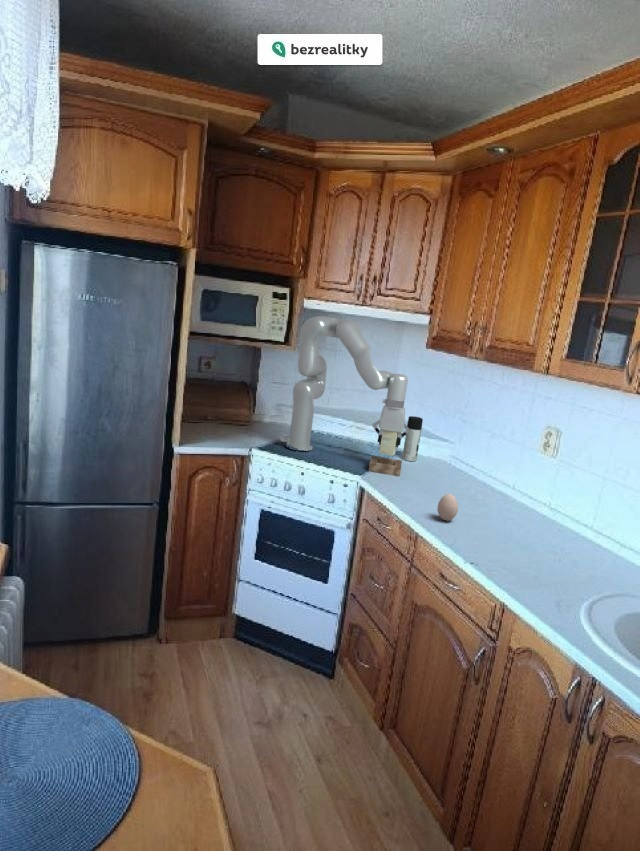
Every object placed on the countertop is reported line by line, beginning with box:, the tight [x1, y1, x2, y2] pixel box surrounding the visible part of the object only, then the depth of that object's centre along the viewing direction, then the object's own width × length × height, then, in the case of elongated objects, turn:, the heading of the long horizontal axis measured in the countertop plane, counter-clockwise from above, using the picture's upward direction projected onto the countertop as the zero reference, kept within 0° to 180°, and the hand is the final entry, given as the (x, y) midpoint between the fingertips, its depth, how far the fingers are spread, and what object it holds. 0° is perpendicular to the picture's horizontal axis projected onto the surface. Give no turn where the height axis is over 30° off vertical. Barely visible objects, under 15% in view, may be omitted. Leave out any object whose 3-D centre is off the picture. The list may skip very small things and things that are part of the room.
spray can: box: [402, 415, 424, 462], centre depth 262 cm, size 7×7×20 cm
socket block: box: [368, 455, 403, 477], centre depth 242 cm, size 13×13×4 cm
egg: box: [437, 493, 459, 522], centre depth 190 cm, size 7×7×9 cm
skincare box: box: [378, 430, 399, 457], centre depth 240 cm, size 6×4×12 cm
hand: (388, 445), depth 240 cm, fingers closed on skincare box, 6 cm apart
